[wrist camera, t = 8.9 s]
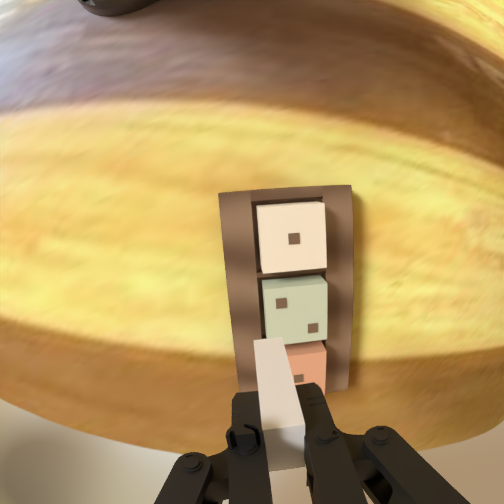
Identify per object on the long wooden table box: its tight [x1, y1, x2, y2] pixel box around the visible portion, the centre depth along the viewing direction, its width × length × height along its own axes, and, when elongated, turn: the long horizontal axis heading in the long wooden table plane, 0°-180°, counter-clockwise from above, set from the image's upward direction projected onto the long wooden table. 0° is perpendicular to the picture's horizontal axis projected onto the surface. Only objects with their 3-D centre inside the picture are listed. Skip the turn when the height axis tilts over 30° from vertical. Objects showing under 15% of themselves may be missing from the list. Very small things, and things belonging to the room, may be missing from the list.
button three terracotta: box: [284, 340, 327, 395], centre depth 33 cm, size 6×6×3 cm
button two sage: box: [262, 275, 327, 344], centre depth 31 cm, size 6×6×3 cm
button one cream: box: [256, 201, 327, 274], centre depth 30 cm, size 6×6×3 cm
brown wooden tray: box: [218, 185, 354, 393], centre depth 33 cm, size 24×13×2 cm, turn 5°
